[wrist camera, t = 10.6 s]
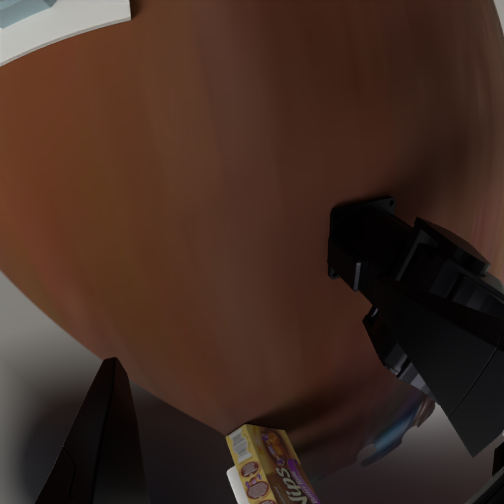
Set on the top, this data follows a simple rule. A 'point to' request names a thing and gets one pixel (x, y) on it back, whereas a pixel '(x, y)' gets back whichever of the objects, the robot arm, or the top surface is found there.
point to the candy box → (269, 467)
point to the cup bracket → (52, 22)
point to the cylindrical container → (237, 486)
